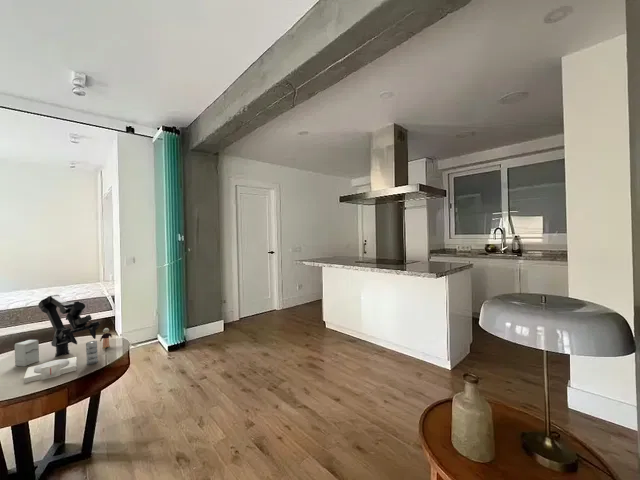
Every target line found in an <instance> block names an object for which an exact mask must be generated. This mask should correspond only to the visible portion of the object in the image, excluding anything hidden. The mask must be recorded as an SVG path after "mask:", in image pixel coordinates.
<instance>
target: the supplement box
mask: <svg viewBox="0 0 640 480" xmlns="http://www.w3.org/2000/svg"><path fill="white" fill-rule="evenodd" d="M39 344H40V343H39V339H27V340H25V341H20V342H16V343H15V344H14V365H15V366H17V367H26V366H28V365H32V364H35V363H37V362H40V349H39V348H40V346H39Z"/></svg>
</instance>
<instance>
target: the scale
mask: <svg viewBox="0 0 640 480" xmlns="http://www.w3.org/2000/svg"><path fill="white" fill-rule="evenodd" d="M77 361H78V360H77V356H74V357H70V358H69V357H68V358H61V359H55V360H50V361H46V362H43V363H40V364H37V365H32V366H29V367H27V369H26V372H25V374H24V377H23V384H27V383H30V382H34V381H38V380H42V381H44V380H48V379H51V378H55V377H59V376H61V375H63V374H67V373H72V372H76V371H77V364H78V363H77Z"/></svg>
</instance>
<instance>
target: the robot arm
mask: <svg viewBox="0 0 640 480" xmlns="http://www.w3.org/2000/svg"><path fill="white" fill-rule="evenodd" d="M38 308H39V309H40V311H41V312H42V313H45V314H47V316H48V320H49V322H50V324H51V326H52V329H53V330H54V334H53V339H52V341H51V342H50V344H51V347H55V355H54V357H60V356H64V355H69V354H70V349H69V344H70V343H72V344H74V345H78V340H77V339H76V337H75V336H74V333H75V334H76V333H79V332H83V331H86V330H89V331H88V332H89V334H90V336H91V337H92V338H93V339H95V340H96V338H97V337H96V336H97V335H96V331H97V330H98V328H99V327H100V325H101V322H100V321H97V320H95V321H93V322H90V321H92V318H93V317H92V315H91V314H87V315H86V316H83V317H81V315H82V313H83V312H84V310H85V309H86V304H85V303H83V302H80V301H79V300H78V301H77V300H76V301H67V300H66V299H64V298H63V297H61V296H60V295H59V294H53V295H51V294H50V295H48V296H47V297H46V298H44V299H42V300H40V301H39V302H38ZM57 308H59V312H60V313H61V314H62V315H66V317H65V320H66V321H68V323H69V327H65V324H64V323H63V320H62V319H61V317H60V316H61V315H59V312H58V311H57V310H58V309H57ZM89 322H90V324H89V325H88V323H89Z"/></svg>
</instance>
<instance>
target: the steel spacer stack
mask: <svg viewBox="0 0 640 480" xmlns="http://www.w3.org/2000/svg"><path fill="white" fill-rule="evenodd" d="M85 352H86V365H88V366H92V365H95V364H97V363H98V362H99V360H98V359H99V358H98V357H99V356H98V353H99V352H98V340H90V341H87V342H85Z"/></svg>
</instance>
